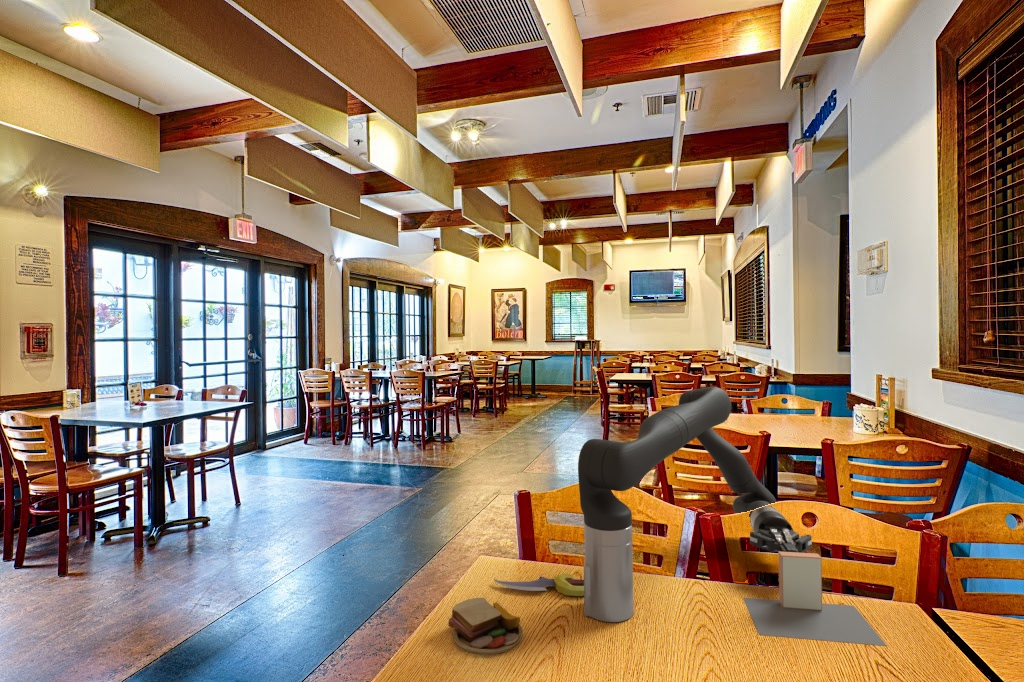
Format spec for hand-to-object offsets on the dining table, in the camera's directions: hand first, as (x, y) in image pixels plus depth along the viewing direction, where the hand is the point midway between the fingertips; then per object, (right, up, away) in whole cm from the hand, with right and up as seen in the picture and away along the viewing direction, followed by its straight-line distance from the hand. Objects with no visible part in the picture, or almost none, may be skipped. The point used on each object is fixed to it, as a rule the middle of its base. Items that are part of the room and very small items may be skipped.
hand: (792, 555), depth 111 cm
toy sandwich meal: (-61, -11, -11) cm, 63 cm away
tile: (-1, -8, -5) cm, 9 cm away
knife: (-48, -10, +7) cm, 50 cm away
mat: (-2, -9, -10) cm, 13 cm away
